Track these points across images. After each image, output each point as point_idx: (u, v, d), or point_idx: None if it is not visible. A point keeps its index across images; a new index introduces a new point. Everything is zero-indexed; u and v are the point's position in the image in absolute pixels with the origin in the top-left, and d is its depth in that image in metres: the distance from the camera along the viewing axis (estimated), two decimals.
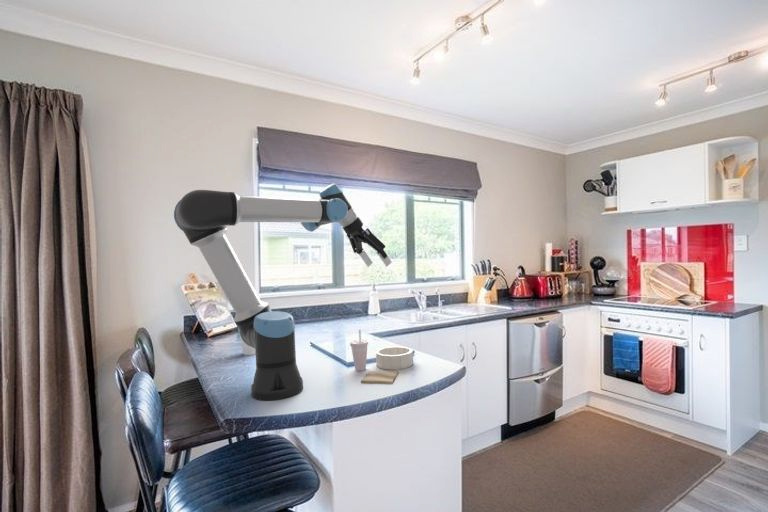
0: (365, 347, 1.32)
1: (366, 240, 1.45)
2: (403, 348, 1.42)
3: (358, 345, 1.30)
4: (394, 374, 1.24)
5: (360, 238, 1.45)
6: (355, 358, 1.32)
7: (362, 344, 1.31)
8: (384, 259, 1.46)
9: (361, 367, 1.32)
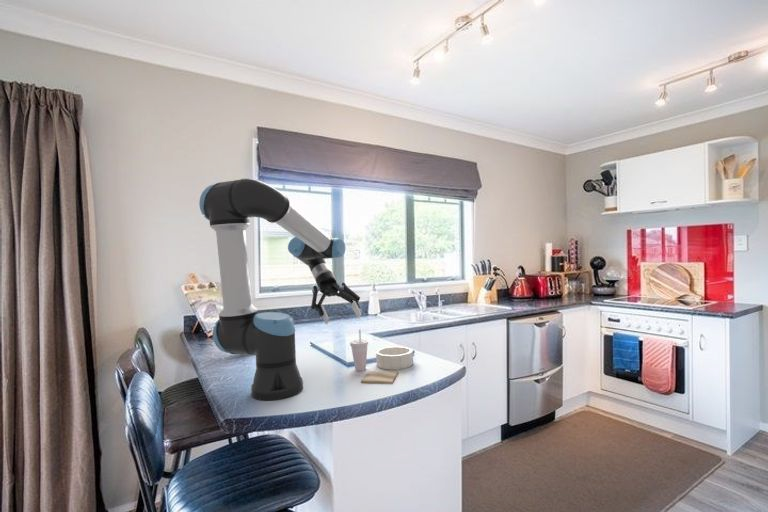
0: (365, 347, 1.32)
1: None
2: (403, 348, 1.42)
3: (358, 345, 1.30)
4: (394, 374, 1.24)
5: (337, 286, 1.50)
6: (355, 358, 1.32)
7: (362, 344, 1.31)
8: None
9: (361, 367, 1.32)
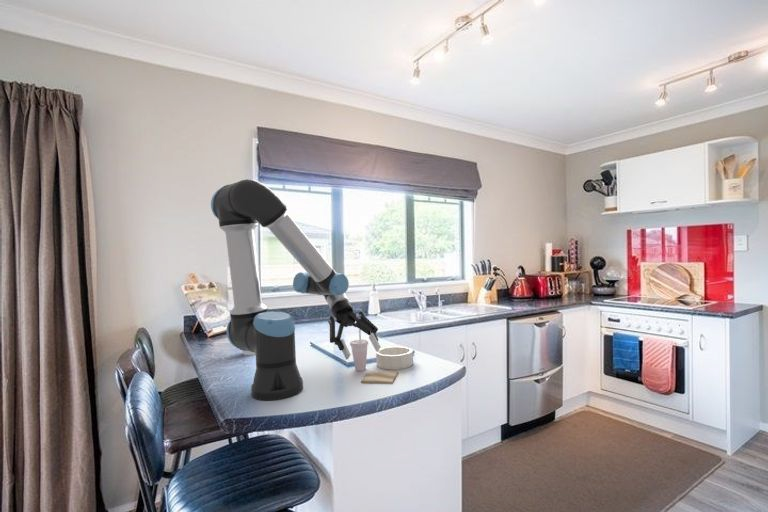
0: (365, 347, 1.32)
1: None
2: (403, 348, 1.42)
3: (358, 345, 1.30)
4: (394, 374, 1.24)
5: (354, 316, 1.40)
6: (355, 358, 1.32)
7: (362, 344, 1.31)
8: None
9: (361, 367, 1.32)
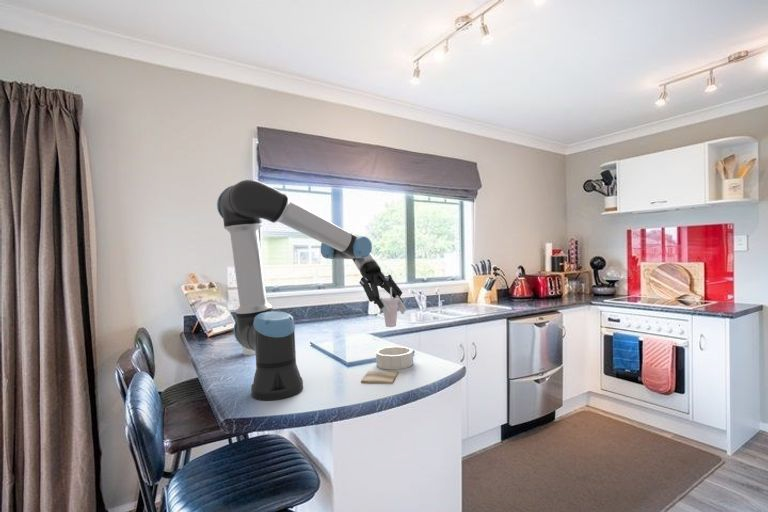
0: (396, 304, 1.36)
1: None
2: (403, 348, 1.42)
3: (390, 302, 1.34)
4: (394, 374, 1.24)
5: (383, 277, 1.43)
6: None
7: (394, 301, 1.34)
8: None
9: (392, 324, 1.35)
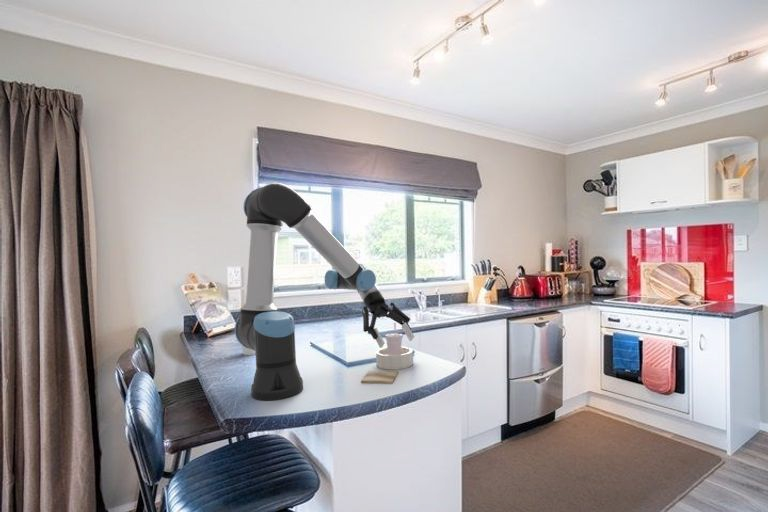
0: (400, 340, 1.36)
1: None
2: (403, 348, 1.42)
3: (394, 338, 1.34)
4: (394, 374, 1.24)
5: (387, 307, 1.44)
6: (390, 350, 1.36)
7: (397, 337, 1.35)
8: None
9: None
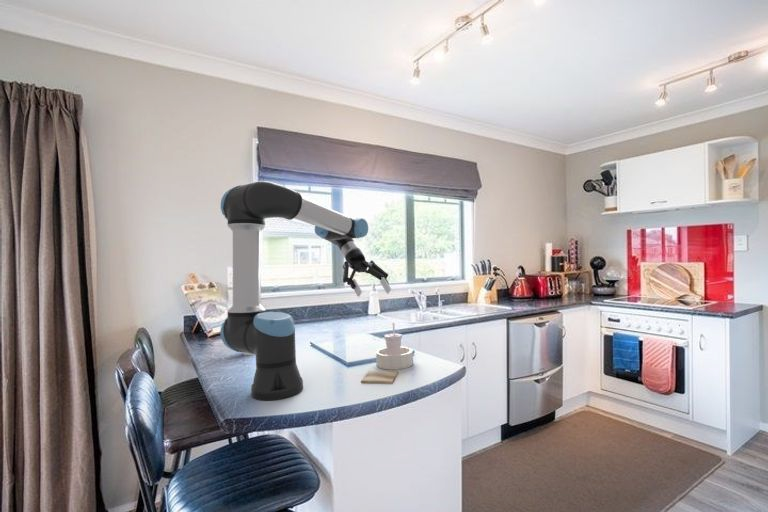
0: (399, 340, 1.36)
1: None
2: (403, 348, 1.42)
3: (393, 338, 1.34)
4: (394, 374, 1.24)
5: (366, 263, 1.55)
6: (390, 351, 1.35)
7: (397, 337, 1.35)
8: None
9: None
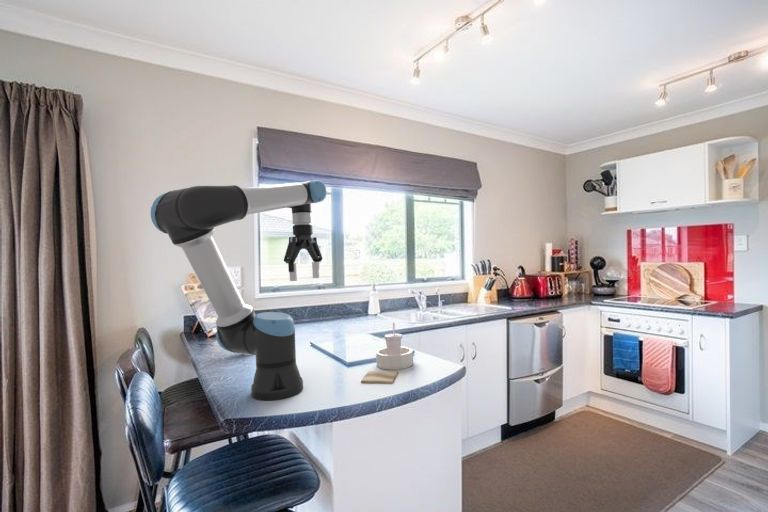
0: (399, 340, 1.36)
1: None
2: (403, 348, 1.42)
3: (393, 338, 1.34)
4: (394, 374, 1.24)
5: (311, 242, 1.49)
6: (390, 351, 1.35)
7: (397, 337, 1.35)
8: None
9: None
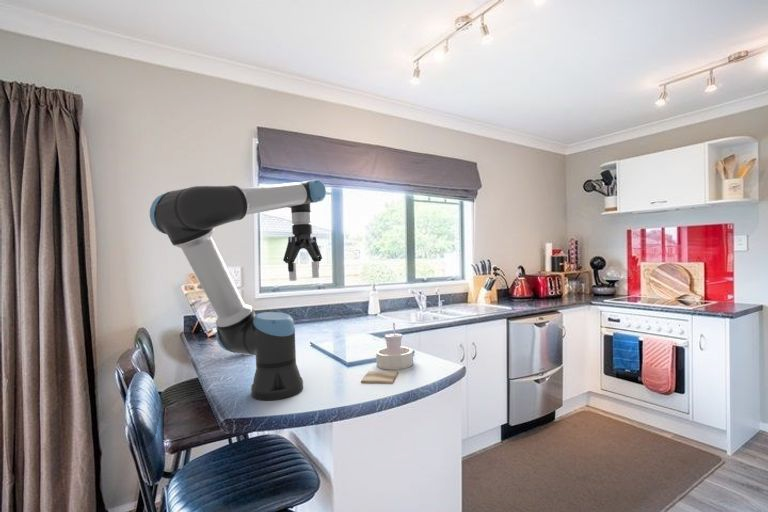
0: (399, 340, 1.36)
1: None
2: (403, 348, 1.42)
3: (393, 338, 1.34)
4: (394, 374, 1.24)
5: (310, 242, 1.49)
6: (390, 351, 1.35)
7: (397, 337, 1.35)
8: None
9: None
